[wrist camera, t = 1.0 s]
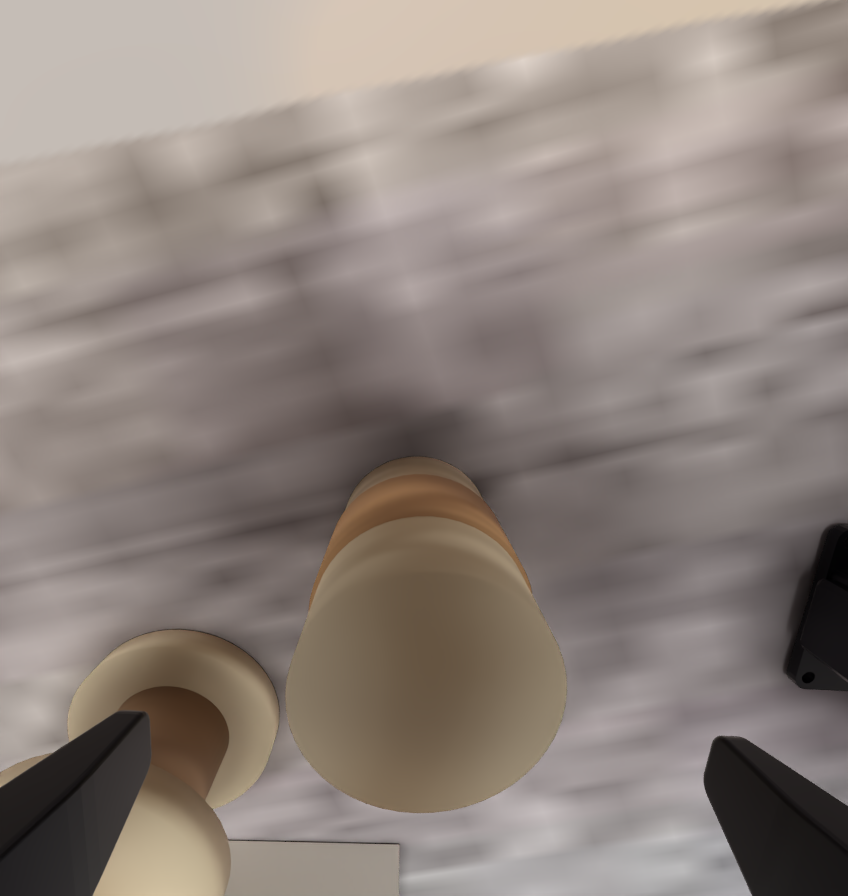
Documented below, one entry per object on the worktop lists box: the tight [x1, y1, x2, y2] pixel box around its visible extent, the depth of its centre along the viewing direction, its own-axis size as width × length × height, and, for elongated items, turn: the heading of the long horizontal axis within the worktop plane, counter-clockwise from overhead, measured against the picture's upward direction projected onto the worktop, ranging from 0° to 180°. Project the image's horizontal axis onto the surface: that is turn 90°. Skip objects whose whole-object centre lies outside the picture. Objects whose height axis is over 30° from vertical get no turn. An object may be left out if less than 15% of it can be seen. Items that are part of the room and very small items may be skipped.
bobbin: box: [0, 630, 280, 896], centre depth 14 cm, size 7×7×6 cm
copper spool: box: [285, 457, 567, 813], centre depth 12 cm, size 5×5×8 cm
